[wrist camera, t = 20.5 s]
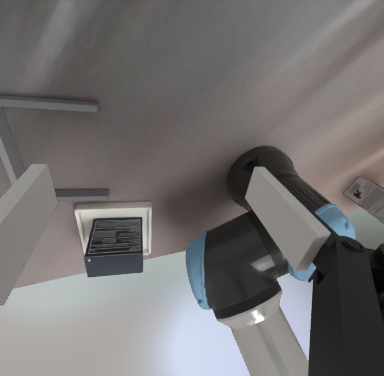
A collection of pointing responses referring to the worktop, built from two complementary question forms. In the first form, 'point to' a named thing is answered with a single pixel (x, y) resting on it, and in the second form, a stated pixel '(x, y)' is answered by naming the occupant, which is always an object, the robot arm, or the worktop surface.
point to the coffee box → (367, 197)
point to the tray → (114, 210)
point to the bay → (6, 149)
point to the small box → (114, 247)
